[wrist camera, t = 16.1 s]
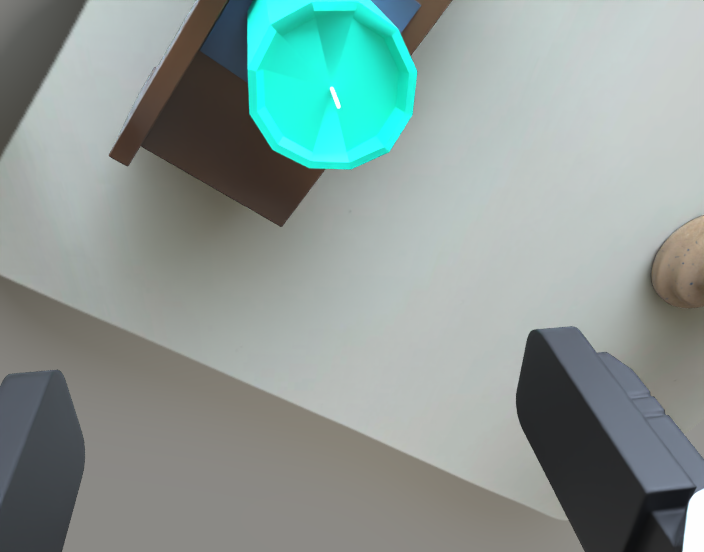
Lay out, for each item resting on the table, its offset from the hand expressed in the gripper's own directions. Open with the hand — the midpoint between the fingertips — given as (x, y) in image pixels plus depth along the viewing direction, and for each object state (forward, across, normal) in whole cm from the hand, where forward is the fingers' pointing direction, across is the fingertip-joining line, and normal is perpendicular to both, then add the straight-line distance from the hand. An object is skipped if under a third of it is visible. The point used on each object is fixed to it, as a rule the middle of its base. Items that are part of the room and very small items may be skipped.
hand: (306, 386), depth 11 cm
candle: (+24, -2, -1) cm, 24 cm away
